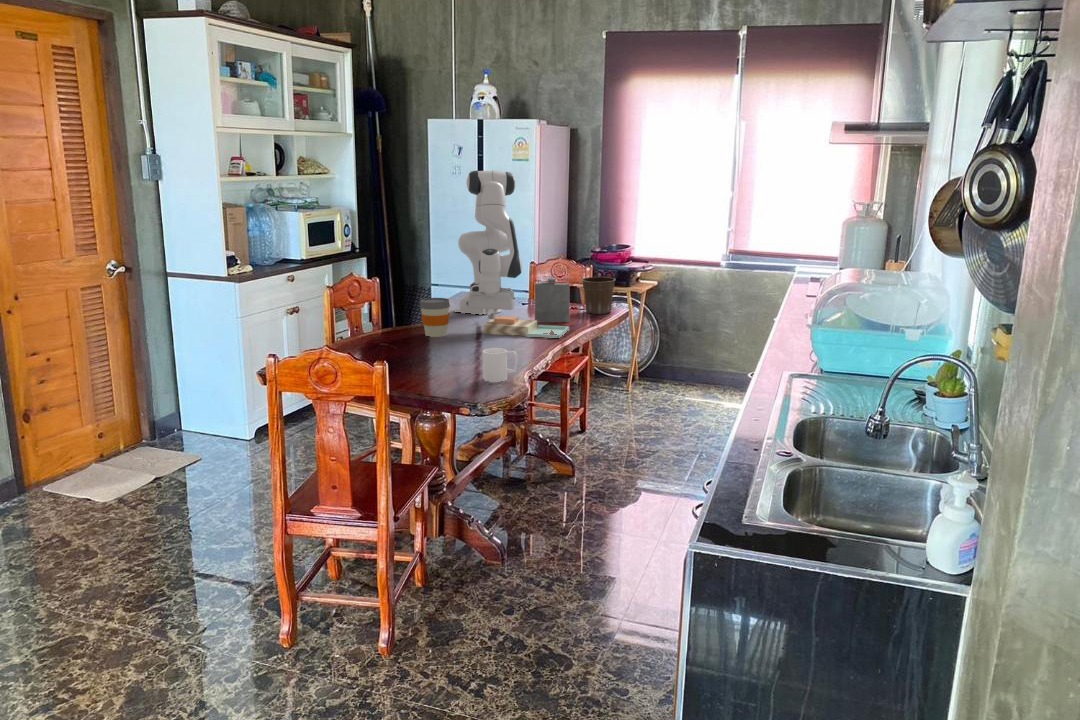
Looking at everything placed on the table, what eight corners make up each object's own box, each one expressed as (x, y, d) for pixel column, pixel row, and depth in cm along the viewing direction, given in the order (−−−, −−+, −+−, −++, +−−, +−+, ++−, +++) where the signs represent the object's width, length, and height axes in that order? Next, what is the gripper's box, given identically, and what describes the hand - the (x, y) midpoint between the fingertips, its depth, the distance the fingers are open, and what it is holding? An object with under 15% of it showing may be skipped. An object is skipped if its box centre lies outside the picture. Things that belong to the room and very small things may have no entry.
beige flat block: (483, 333, 350) (483, 324, 349) (493, 327, 363) (493, 318, 362) (528, 336, 345) (528, 327, 344) (537, 329, 358) (537, 320, 357)
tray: (526, 337, 343) (526, 333, 343) (538, 328, 360) (538, 324, 360) (559, 339, 340) (559, 335, 339) (569, 330, 356) (569, 326, 356)
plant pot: (586, 316, 386) (587, 282, 382) (577, 309, 401) (577, 277, 397) (619, 314, 390) (620, 281, 386) (608, 308, 405) (609, 276, 401)
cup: (516, 382, 277) (516, 354, 274) (481, 382, 278) (480, 353, 275) (519, 376, 284) (519, 348, 282) (485, 375, 286) (484, 347, 283)
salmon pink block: (494, 323, 352) (494, 318, 352) (498, 320, 358) (498, 315, 357) (514, 324, 350) (513, 319, 349) (518, 321, 355) (518, 316, 355)
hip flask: (569, 321, 375) (570, 277, 370) (568, 323, 371) (568, 279, 366) (535, 320, 378) (535, 277, 373) (534, 322, 374) (533, 278, 369)
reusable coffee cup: (433, 330, 357) (431, 296, 353) (456, 333, 351) (455, 299, 347) (415, 336, 346) (413, 301, 343) (439, 339, 340) (437, 303, 337)
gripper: (516, 287, 352) (516, 318, 355) (471, 285, 357) (472, 316, 361) (511, 289, 346) (512, 321, 349) (466, 287, 351) (467, 319, 355)
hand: (491, 318), depth 355 cm, fingers closed
